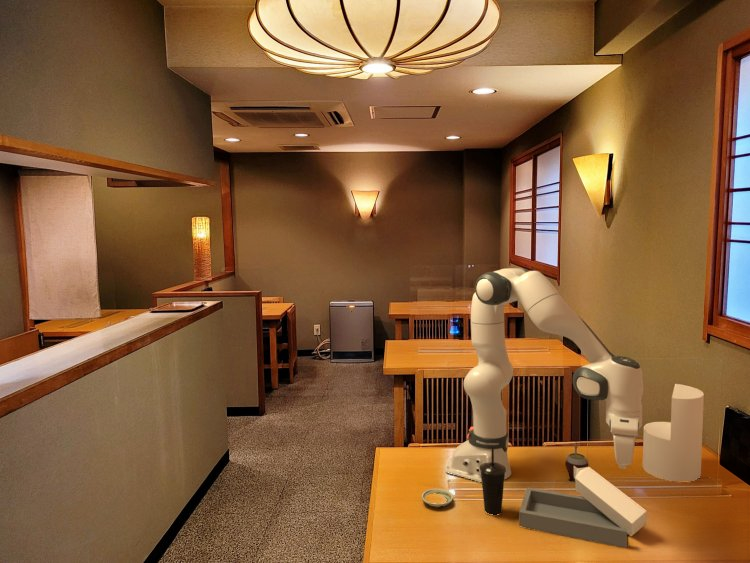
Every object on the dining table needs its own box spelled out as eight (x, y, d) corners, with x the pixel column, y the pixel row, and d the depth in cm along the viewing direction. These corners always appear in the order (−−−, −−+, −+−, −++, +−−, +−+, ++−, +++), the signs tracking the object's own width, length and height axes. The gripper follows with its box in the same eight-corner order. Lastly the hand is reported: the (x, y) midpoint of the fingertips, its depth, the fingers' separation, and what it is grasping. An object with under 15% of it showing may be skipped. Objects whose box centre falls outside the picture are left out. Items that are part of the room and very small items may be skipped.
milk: (632, 523, 141) (566, 471, 158) (631, 537, 144) (566, 483, 161) (647, 510, 143) (580, 459, 160) (646, 523, 146) (580, 472, 163)
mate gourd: (578, 472, 182) (578, 430, 180) (594, 483, 174) (595, 439, 173) (560, 476, 179) (560, 433, 178) (575, 487, 172) (576, 442, 170)
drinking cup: (507, 506, 162) (507, 443, 159) (504, 520, 154) (504, 454, 152) (481, 503, 164) (481, 440, 162) (478, 516, 157) (477, 451, 155)
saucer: (456, 498, 168) (456, 491, 167) (447, 514, 159) (447, 506, 159) (427, 493, 172) (427, 486, 171) (417, 507, 163) (417, 500, 163)
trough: (519, 526, 151) (519, 511, 150) (526, 501, 164) (526, 487, 164) (626, 548, 140) (626, 531, 139) (625, 518, 153) (625, 503, 153)
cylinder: (701, 465, 184) (704, 387, 181) (700, 487, 170) (703, 402, 166) (645, 455, 193) (647, 380, 190) (639, 475, 179) (641, 394, 176)
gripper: (610, 403, 154) (609, 449, 156) (610, 429, 136) (609, 481, 137) (635, 406, 152) (633, 452, 153) (638, 432, 133) (636, 485, 135)
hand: (622, 466), depth 145 cm, fingers closed
